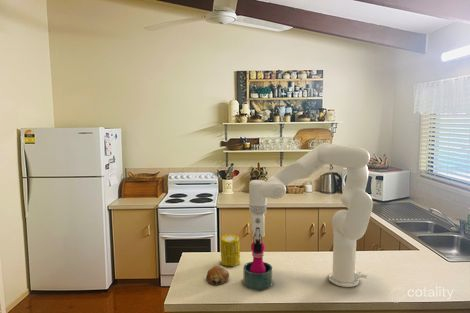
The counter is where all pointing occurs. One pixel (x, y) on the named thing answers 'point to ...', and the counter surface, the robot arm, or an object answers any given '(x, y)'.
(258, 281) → the pot
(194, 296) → the counter surface
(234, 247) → the food
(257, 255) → the pepper mill
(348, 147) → the robot arm
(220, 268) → the bread roll
